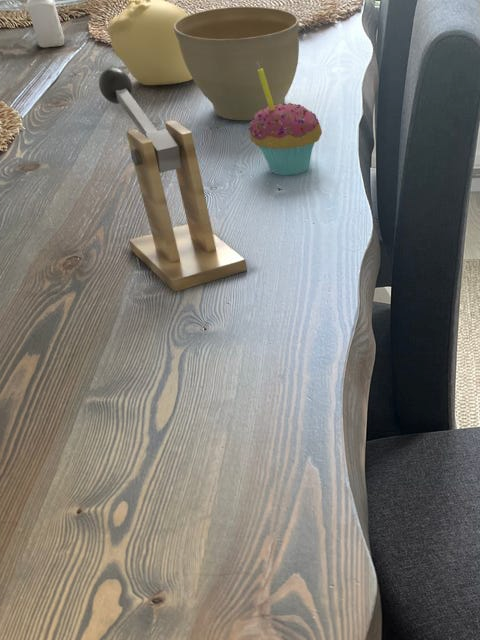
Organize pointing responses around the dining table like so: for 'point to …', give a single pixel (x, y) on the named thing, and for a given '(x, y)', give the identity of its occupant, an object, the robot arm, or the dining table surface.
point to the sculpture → (149, 42)
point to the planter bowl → (240, 56)
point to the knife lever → (139, 117)
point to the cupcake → (284, 134)
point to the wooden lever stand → (187, 240)
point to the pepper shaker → (46, 23)
